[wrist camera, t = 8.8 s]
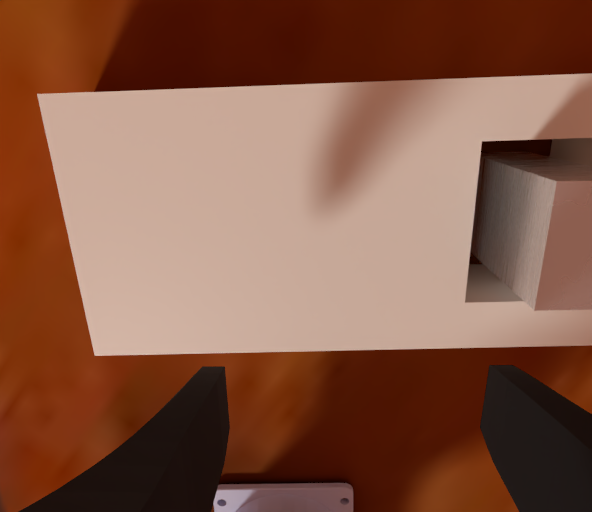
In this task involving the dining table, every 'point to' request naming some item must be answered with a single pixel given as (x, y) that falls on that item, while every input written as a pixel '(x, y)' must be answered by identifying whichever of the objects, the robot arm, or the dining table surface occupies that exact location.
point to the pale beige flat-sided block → (301, 213)
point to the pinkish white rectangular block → (536, 227)
